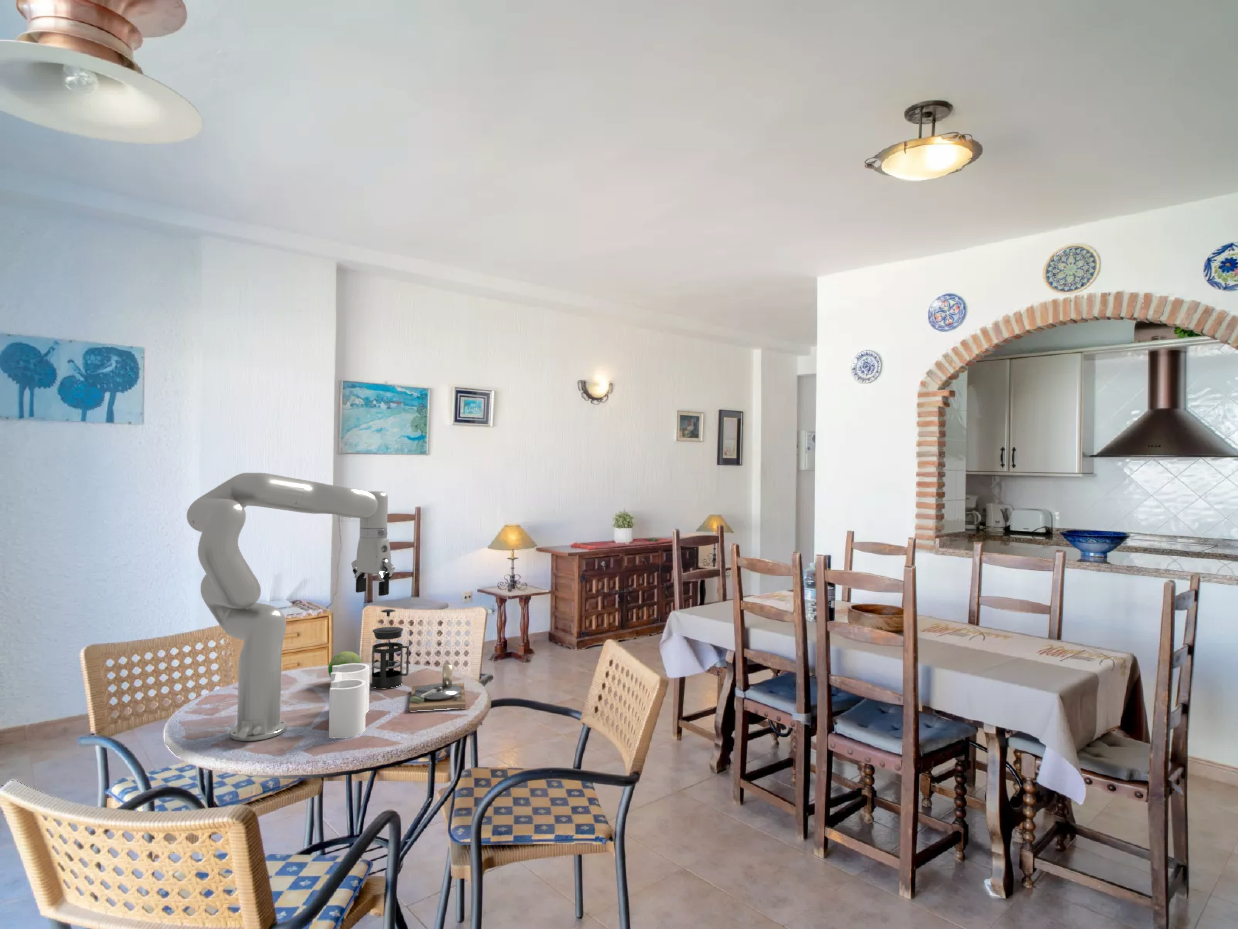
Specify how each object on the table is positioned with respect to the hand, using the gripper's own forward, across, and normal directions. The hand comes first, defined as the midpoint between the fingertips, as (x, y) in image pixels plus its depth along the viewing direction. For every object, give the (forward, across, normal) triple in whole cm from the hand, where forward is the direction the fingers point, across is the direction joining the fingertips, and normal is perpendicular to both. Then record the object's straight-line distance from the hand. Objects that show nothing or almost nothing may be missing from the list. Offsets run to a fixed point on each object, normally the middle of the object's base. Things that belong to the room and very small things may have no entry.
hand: (372, 593), depth 203 cm
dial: (+29, -16, -11) cm, 35 cm away
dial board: (+30, -16, -11) cm, 36 cm away
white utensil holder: (+31, -10, +15) cm, 36 cm away
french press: (+31, +7, -13) cm, 34 cm away
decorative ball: (+31, +18, -6) cm, 36 cm away
